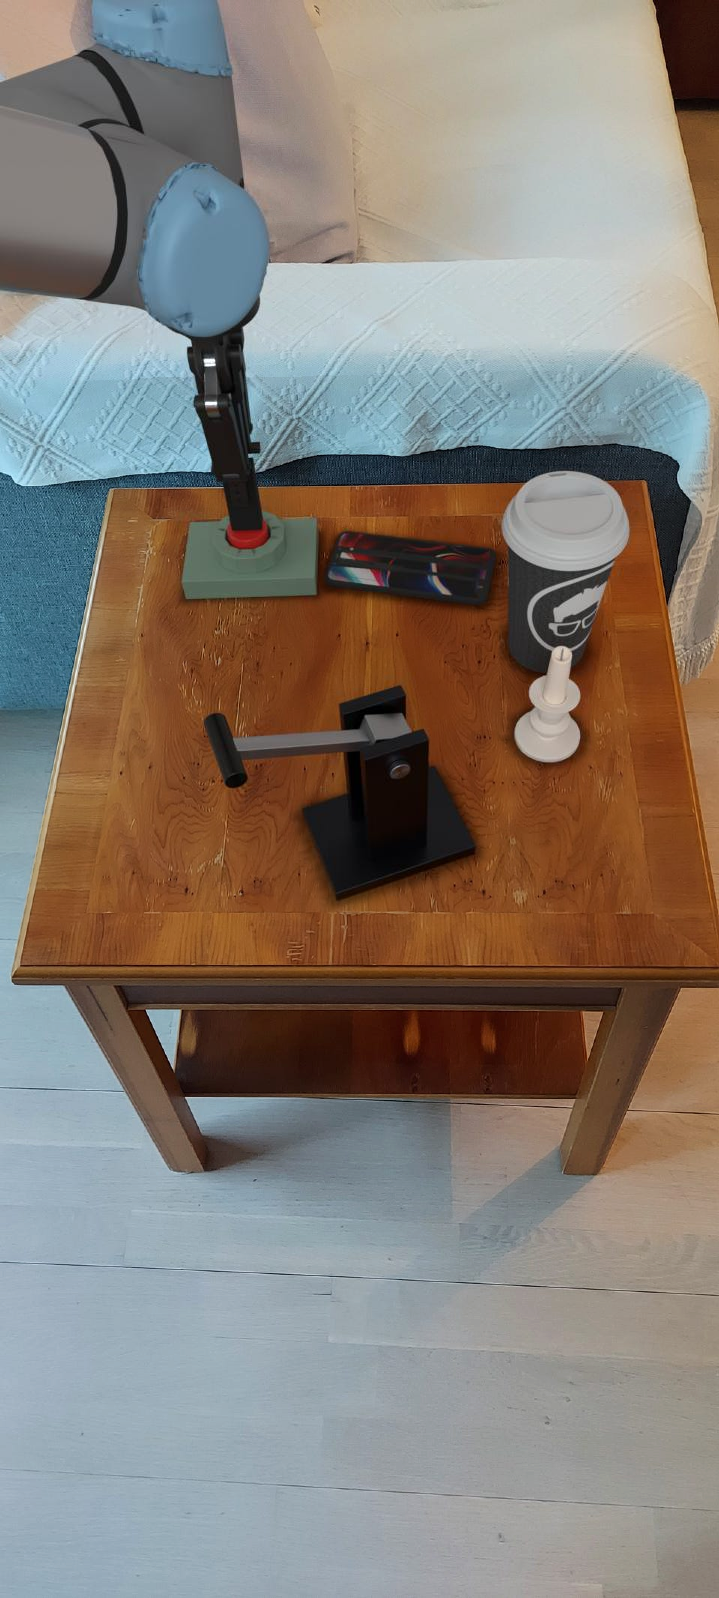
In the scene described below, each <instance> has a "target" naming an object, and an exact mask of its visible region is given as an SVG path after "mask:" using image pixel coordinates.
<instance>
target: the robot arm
mask: <svg viewBox="0 0 719 1598" xmlns="http://www.w3.org/2000/svg"><path fill="white" fill-rule="evenodd" d="M91 18H92V19H91V20H92V29H93V30H92V36H93V40H94V41H95V43H94V44H93V45H92V46H90V47H87V48H84V49H82V50H80V51H79V52H78V53H77V54H73V55H72V56H70V57H67V58H64V59H61V60H59V61H56V62H52V63H50V64H47V65H45V66H41V67H38V68H36V69H33V70H31V71H27V72H24V73H21V74H18V75H16V76H14V77H10V78H8V79H5V80H1V81H0V291H1V292H2V291H3V292H9V293H10V292H11V293H20V294H28V295H35V296H36V295H37V296H45V297H53V298H54V297H55V298H64V299H72V300H79V301H80V300H81V301H86V302H93V303H100V304H109V305H116V306H124V307H132V308H136V309H139V310H142V311H145V312H147V314H148V315H149V316H150V317H151V318H152V319H154V321H156V322H158V323H159V324H161V325H162V326H164V327H166V328H167V329H168V330H170V331H171V332H172V333H175V334H178V335H180V336H183V337H185V338H187V339H188V340H190V344H191V346H187V347H186V358H187V362H188V368H189V372H191V373H192V374H193V377H194V382H195V387H196V393H197V394H194V397H193V401H192V405H193V408H195V413H196V415H197V417H198V418H199V421H200V424H201V427H202V431H203V434H204V438H205V439H204V440H205V441H206V445H207V449H208V452H209V457H210V460H211V467H210V475H211V476H214V478H215V479H216V482H217V483H222V487H223V492H224V497H225V502H226V508H227V513H228V515H229V519H230V524H231V529H232V531H240V530H262V524H263V516H262V511H263V508H262V504H261V498H260V492H259V485H258V478H257V472H256V467H255V460H254V457H253V456H252V457H249V455H258V454H259V455H260V454H261V451H262V447H261V441H252V439H251V435H252V433H253V430H254V424H253V422H252V417H251V409H250V401H249V400H250V399H249V393H248V382H247V376H246V374H247V373H246V372H247V367H246V360H245V354H244V348H245V347H244V346H245V333H244V327H245V326H247V325H248V324H249V323H251V321H252V320H254V318H255V317H256V316H257V314H258V312H259V310H260V306H261V296H260V294H261V292H262V290H263V287H264V282H265V277H266V276H267V274H268V271H267V270H268V266H269V262H270V251H271V250H270V247H271V246H270V236H269V235H270V234H269V230H268V226H267V222H266V220H265V216H264V215H263V212H262V210H261V209H260V207H259V205H258V204H257V202H256V200H255V199H254V198H253V197H252V195H250V193H249V192H247V190H246V189H245V179H244V169H243V168H244V167H243V163H242V161H243V160H242V152H241V145H240V136H239V128H238V118H237V111H236V101H235V94H234V93H235V92H234V84H233V75H234V71H233V66H232V63H231V62H230V55H229V50H228V44H227V43H228V42H227V37H226V32H225V25H224V23H223V20H222V14H221V10H220V5H219V2H218V0H92V3H91Z"/></svg>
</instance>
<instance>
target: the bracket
mask: <svg viewBox="0 0 719 1598" xmlns="http://www.w3.org/2000/svg"><path fill="white" fill-rule="evenodd" d="M338 710H339V720H340V730H354V729H359V728H360V725H361V723H362V720H363V718H364V716H365V715H375V714H391V713H402V714H403V716H404V718H405V720H406V721H407V694H406V692H405V690H404V688H403V686H402V684H398V685H395V686H391V687H389V688H385V689H382V690H379V691H376V692H372V693H369V694H366V695H363V696H360V697H356V698H353V699H350V700H347V701H343V702H340V703H338ZM342 753H343V765H344V772H345V773H344V775H345V784H346V785H345V786H346V787H345V788H346V793H344V794H342V795H339V796H335V797H333V798H330V799H326V800H323V801H321V802H317V803H313V804H311V805H308V806H305V807H302V808H301V813H302V814H301V815H302V818H303V819H302V820H303V821H304V823H305V824H304V825H305V826H306V828H307V831H308V834H309V836H310V838H311V841H312V843H313V846H314V849H315V851H316V853H317V856H318V858H319V861H320V863H321V867H322V868H323V871H324V873H325V875H326V878H327V881H328V883H329V886H330V888H331V890H332V893H333V896H334V899H335V900H336V902H340V901H342V900H345V899H347V898H350V897H353V896H357V895H359V894H362V893H366V892H367V891H371V890H374V889H377V888H380V887H383V886H386V885H389V884H392V883H394V882H397V881H400V880H404V879H406V878H409V877H412V876H414V875H418V874H420V873H424V872H426V871H427V872H428V871H429V870H432V869H435V868H439V867H441V866H444V865H447V864H450V863H453V862H456V861H459V860H461V859H465V858H467V857H471V856H473V855H475V854H476V848H477V847H476V844H475V842H474V839H473V838H472V836H471V834H470V831H469V829H468V828H467V826H466V824H465V822H464V820H463V818H462V816H461V814H460V812H459V811H458V808H457V807H456V805H455V802H454V800H453V799H452V797H451V795H450V793H449V791H448V789H447V787H446V785H445V783H444V781H443V778H442V777H441V775H440V772H439V771H438V769H437V768H436V765H431V766H430V765H429V764H430V763H429V761H430V738H429V736H428V735H427V732H426V731H425V729H424V728H421V729H418V730H413V731H411V733H407V734H404V735H401V736H398V737H395V738H392V739H388V740H385V741H382V742H379V743H376V744H373V745H369V746H366V747H363V748H360V751H352V752H342Z"/></svg>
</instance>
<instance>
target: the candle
mask: <svg viewBox="0 0 719 1598" xmlns="http://www.w3.org/2000/svg"><path fill="white" fill-rule="evenodd" d="M571 660H572V652H571V651H570V649H569V648H567V647H565V646H558V647H556V648H555V649H554V650H553V651H552V655H551V659H550V663H549V667H548V672H547V673H546V675H542V676H541V677H538V678H536V679H535V680H534V681H533V682H532V683H531V685H530V687H529V690H528V697H529V700H530V702H531V703H532V705H533V706H534V707H533V708H532V710H530V711H528V712H526V713H525V714H523V715H522V716H521V717H519V719H518V721H517V722H516V724H515V727H514V732H513V733H514V741H515V743H516V746H517V748H518V749H519V750H520V752H521V753H522V754H524V755H525V756H526V757H528V758H531V759H532V760H534V761H537V762H542V763H557V762H562V761H563V760H566V759H567V758H570V757H571V756H572V755H573V754H574V753H575V752H576V751H577V750H578V747H579V744H580V739H581V730H580V728H579V726H578V724H577V722H576V721H575V720H574V719H573V717H571V715H570V713H569V712H570V711H573V710H574V709H575V708H576V707H577V706H578V705H579V703H580V700H581V691H580V688H579V686H578V685H577V684H576V683H575V681H573V680H571V678H570V673H571V668H572V667H571ZM570 667H571V668H570Z"/></svg>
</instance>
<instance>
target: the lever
mask: <svg viewBox="0 0 719 1598" xmlns="http://www.w3.org/2000/svg"><path fill="white" fill-rule="evenodd" d="M203 727H204V729H205V733H206V735H207V738H208V741H209V743H210V746H211V749H212V752H213V755H214V757H215V760H216V764H217V766H218V769H219V772H220V775H221V777H222V780H223V783H224V785H225V787H226V788H229V789H237V788H240V787H242V786H244V785H245V784H246V783H247V781H248V780H249V776H248V773H247V771H246V768H245V765H244V763H243V761H248V760H249V761H250V760H251V761H252V760H264V759H275V758H288V757H289V758H290V757H300V756H313V755H314V756H315V755H324V754H326V755H327V754H338V753H343V752H352V751H360V748H363V747H366V746H369V745H373V744H376V743H379V742H382V741H385V740H388V739H392V738H395V737H398V736H401V735H404V734H407V733H411V732H412V730H411V728H410V726H409V724H408V722H407V719H406V720H405V718H404V716H403V714H402V713H391V714H375V715H365V716H364V718H363V720H362V723H361V725H360V728H359V729H354V730H341V729H339V730H328V731H327V730H326V731H311V732H298V733H283V734H267V735H255V736H241V737H240V736H239V737H234V736H233V733H232V731H231V728H230V724H229V723H228V720H227V717H226V716H225V714H224V713H221V712H213V713H210V714H208V715H207V716H205V718H204V720H203Z"/></svg>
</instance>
